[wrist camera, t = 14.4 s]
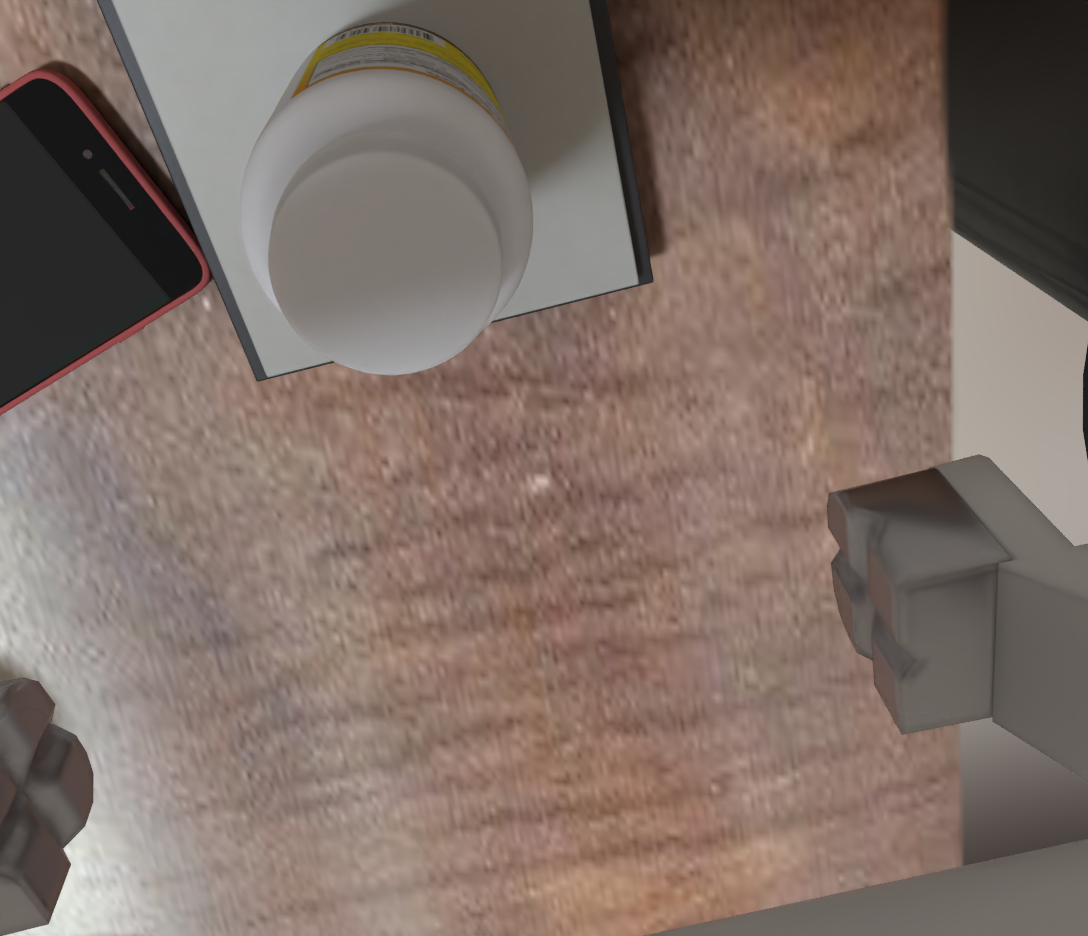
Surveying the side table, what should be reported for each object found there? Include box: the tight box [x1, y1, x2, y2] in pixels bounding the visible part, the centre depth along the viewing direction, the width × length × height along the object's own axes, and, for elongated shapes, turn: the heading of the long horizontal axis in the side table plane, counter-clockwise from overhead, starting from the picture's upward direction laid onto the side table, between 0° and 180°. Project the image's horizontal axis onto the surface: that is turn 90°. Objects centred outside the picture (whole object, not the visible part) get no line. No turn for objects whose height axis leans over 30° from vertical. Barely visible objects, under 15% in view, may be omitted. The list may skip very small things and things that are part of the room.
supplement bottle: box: [240, 21, 533, 375], centre depth 21 cm, size 6×6×10 cm
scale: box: [97, 0, 653, 381], centre depth 26 cm, size 12×12×2 cm
